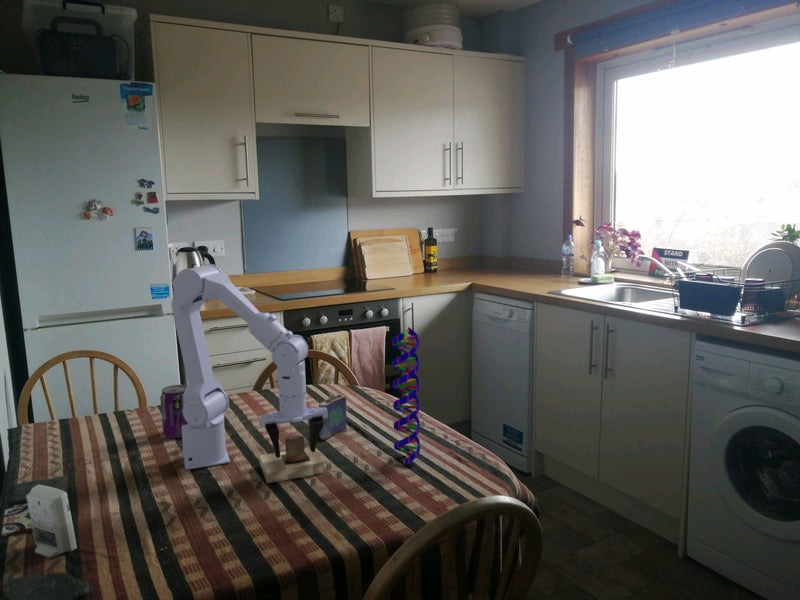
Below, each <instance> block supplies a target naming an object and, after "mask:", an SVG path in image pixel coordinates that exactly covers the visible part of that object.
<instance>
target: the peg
mask: <svg viewBox="0 0 800 600" xmlns="http://www.w3.org/2000/svg"><path fill="white" fill-rule="evenodd" d="M284 440H285V443H284V444H285V451H286V465H289V464H295V463H301V462H305V451H304V448H305V437H304V436H303V435H301V434H291V435H288V436H286V437H285V439H284Z"/></svg>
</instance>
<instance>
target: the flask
mask: <svg viewBox="0 0 800 600" xmlns="http://www.w3.org/2000/svg"><path fill="white" fill-rule="evenodd" d="M327 394H328V398H327V399H326V400H324V401H321V402H320V403H319V405H318V408H320V407H325V408H326V409H327V415H328V418H324V419H323V421H324V426H323V428H322V430H321V432H320V434H319V438H320V440H323V441H325V440H330V439H332V438H334V437H335V436H338V434H341V433H343V432H346V431H347V430H348V429H347V416H348V415H347V396H346V395H344V394H339V393H338V394H336V395H335V393H334V392H332V391H328V393H327Z"/></svg>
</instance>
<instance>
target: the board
mask: <svg viewBox="0 0 800 600" xmlns="http://www.w3.org/2000/svg"><path fill="white" fill-rule="evenodd" d="M304 451H305V462H301V463H295V464H289V465H286V450H285V451H280V458H276V455H275V452H273V453H266V454H261V455H259V465H260V469H261V471H262V474H263V476H264V478H265V482H266V483H267V484H269V483H276V482H281V481H287V480H294V479H298V478H305V477H309V476H316V475H321V474H324V461H323V460H322V458H321V456H320V455H319V454H318V452H317V450H315V452H312V451H311V450H310V446H308V447H304Z"/></svg>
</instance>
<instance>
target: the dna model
mask: <svg viewBox="0 0 800 600" xmlns="http://www.w3.org/2000/svg"><path fill="white" fill-rule="evenodd" d="M407 335H409V336H407ZM413 339H414V340H415V341H416V342H412V341H411V342H408V341H407V340H413ZM406 341H407V342H406ZM391 344H392V346H393V348H394V349H396V350H398V351H400V352H403V354H400V355H399V356H397V357H395V358H394V359H393V360H392V363H391V364H392V367H393V368H394V369H395V370H397V371H399V372H401V373H403V374H404V375H402V376H400V377H397V378H396V379H394V380H393V382H392V388H393V389H394V390H396V391H398V392H400V393H403V394H405V395H404V396H403V397H402V396H401V397H400V398H399V399H396V400H394V402H393V405H392V406H393V409H394V410H395V411H398V412H401V413H403V414H405V415H406V416H405V417H403V418H401V419H397V420H395V421H394V423H393V429H394V430H395V431H397V432H400V433H403V434H405V437H404V438H403V439H400V440H398V441H395V442H393V449H394V450H395V451H397V452H400V453H404V454H406V456H405V458H404V460H403V464H404V466H407V465H409V464H411V463H412V462H413V461H414V460H416V458H417V457H418V456H419V454H420V452H421V441H420V438H419V437H418V435H419V434H420V430H421V422H420V418H419V416H418V414H419V412H420V409H421V401H420V399H419V397H418V396H417V395H418V393H419V391H420V387H421V384H420V383H421V382H420V379H419V377H418V375H417V373H418V371H419V369H420V365H421V364H420V358H419V356H418V354H417V352H418V350H419V349H420V336H419V335H418V334H417V333H416V331H414V330H413V329H412V328H410V327H407V329H406V330H405V331H404V332H401V333H399V334H397V335H395V336H394V337H393V339H392V341H391ZM407 346H414V347H412V348H411V349H410V348H409V347H407ZM412 361H415V362H416V364H409V363H408V362H412ZM404 363H405V364H404ZM407 363H408V364H407ZM410 368H413V369H412V370H411V369H410ZM414 382H416V385H415V384H414V385H413V384H411V385H410V383H414ZM408 383H409V384H408ZM411 389H414V390H411ZM414 402H415V403H416V404H417V405H407V404H410V403H414ZM412 410H414V411H412ZM412 423H416V424H417V426H410V425H409V426H407V425H408V424H412ZM413 430H415V431H413ZM412 443H416V444H417V445H415V446H414V445H409V444H412ZM410 450H415V451H414V452H413V453H412V451H410Z"/></svg>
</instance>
